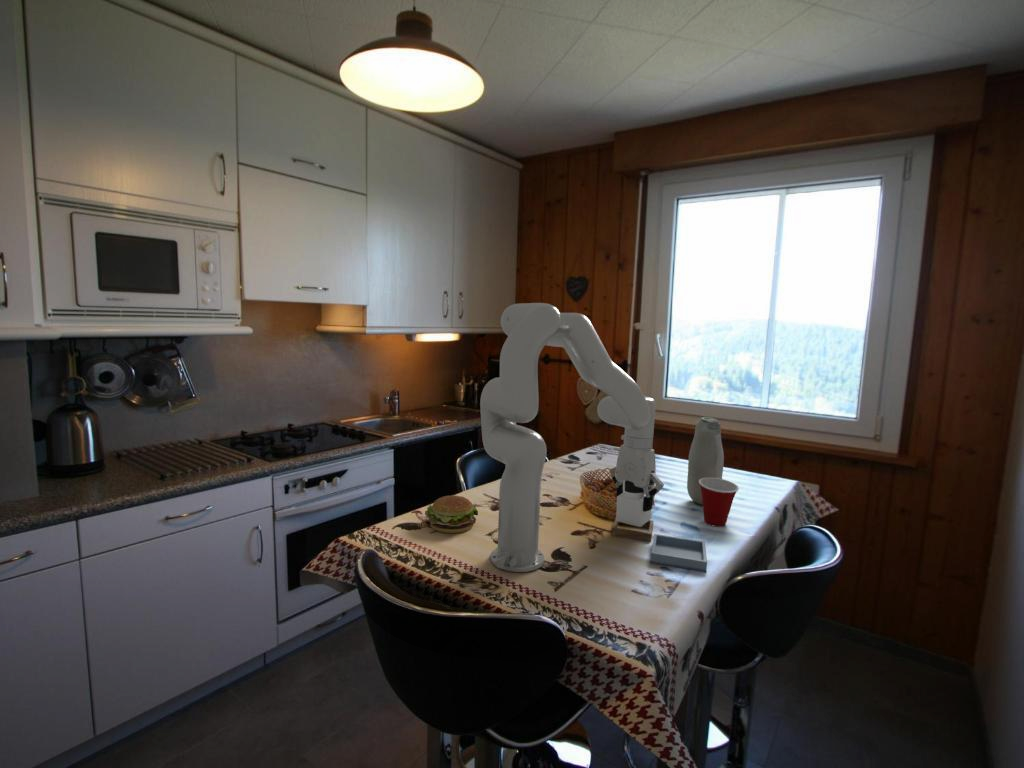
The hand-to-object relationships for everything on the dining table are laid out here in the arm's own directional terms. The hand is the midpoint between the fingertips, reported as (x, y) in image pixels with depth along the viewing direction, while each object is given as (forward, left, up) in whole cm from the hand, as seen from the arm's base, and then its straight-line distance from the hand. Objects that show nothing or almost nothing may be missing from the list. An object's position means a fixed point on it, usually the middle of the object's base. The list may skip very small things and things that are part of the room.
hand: (633, 505), depth 143 cm
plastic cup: (+16, -22, -8) cm, 29 cm away
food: (-16, +47, -8) cm, 50 cm away
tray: (-12, -12, -7) cm, 18 cm away
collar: (0, 0, -7) cm, 7 cm away
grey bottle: (+33, -19, -8) cm, 39 cm away
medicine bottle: (0, 0, -4) cm, 4 cm away
